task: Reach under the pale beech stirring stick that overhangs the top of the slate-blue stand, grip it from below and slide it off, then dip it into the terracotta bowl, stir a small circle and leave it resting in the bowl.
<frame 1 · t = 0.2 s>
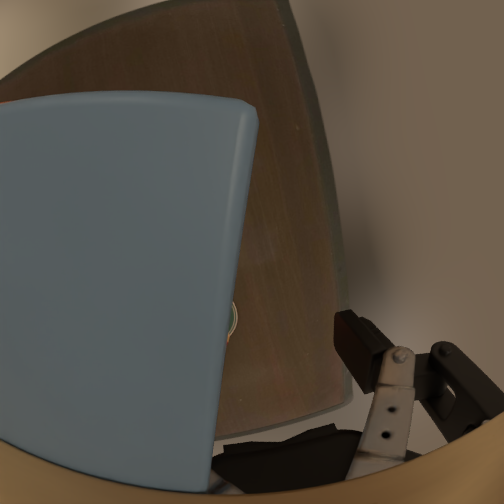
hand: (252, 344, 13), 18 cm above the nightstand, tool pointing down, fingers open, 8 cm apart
stand: (151, 196, 27), on the nightstand
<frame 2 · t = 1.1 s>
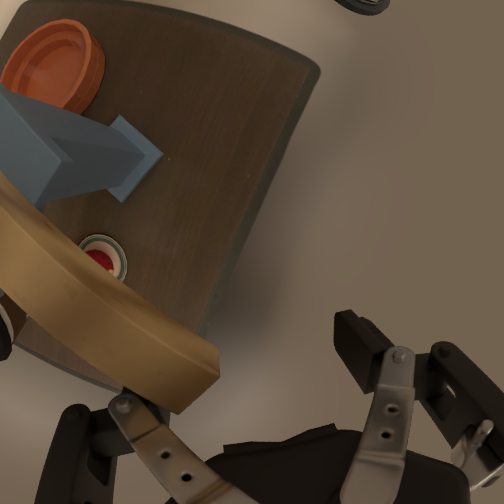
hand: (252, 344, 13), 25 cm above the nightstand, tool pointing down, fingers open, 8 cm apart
stand: (122, 158, 32), on the nightstand
coffee cup: (19, 297, 35), on the nightstand
bowl: (58, 81, 27), on the nightstand
stick: (6, 217, 7), point 28 cm above the nightstand, touching stand
apple: (102, 261, 36), on the nightstand
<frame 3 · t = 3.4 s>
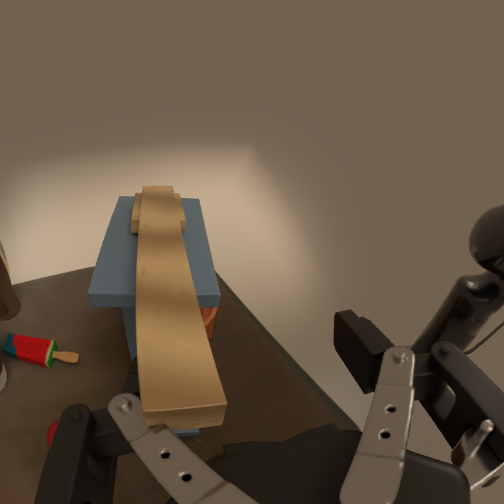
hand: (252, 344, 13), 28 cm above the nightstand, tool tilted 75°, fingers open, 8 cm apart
stand: (166, 411, 33), on the nightstand
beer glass: (8, 309, 38), on the nightstand
bowl: (169, 322, 47), on the nightstand
stick: (160, 268, 15), point 28 cm above the nightstand, touching stand
popsicle: (41, 355, 34), on the nightstand
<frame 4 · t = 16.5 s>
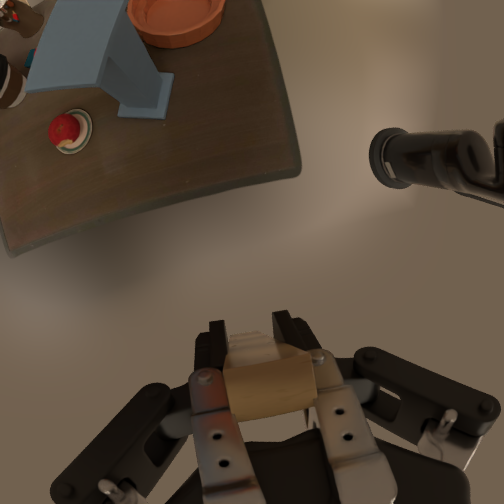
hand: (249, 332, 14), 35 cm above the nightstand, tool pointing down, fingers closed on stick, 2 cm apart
stand: (146, 96, 39), on the nightstand
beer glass: (33, 26, 29), on the nightstand
coffee cup: (17, 92, 33), on the nightstand
bowl: (178, 14, 35), on the nightstand
stick: (253, 366, 15), point 34 cm above the nightstand, tilted 120°, touching gripper
popsicle: (57, 57, 33), on the nightstand
apple: (74, 131, 39), on the nightstand
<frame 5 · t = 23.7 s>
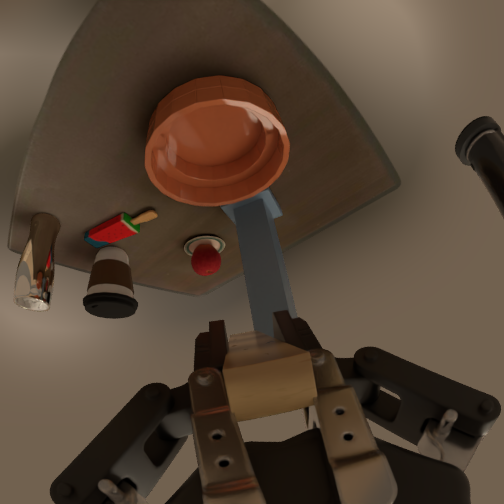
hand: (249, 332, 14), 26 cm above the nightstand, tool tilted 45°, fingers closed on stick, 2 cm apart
stand: (251, 204, 47), on the nightstand
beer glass: (46, 222, 40), on the nightstand
coffee cup: (112, 253, 53), on the nightstand
bowl: (213, 129, 32), on the nightstand
stick: (253, 365, 15), point 27 cm above the nightstand, tilted 165°, touching gripper
popsicle: (120, 223, 45), on the nightstand
apple: (204, 244, 56), on the nightstand
when the fingers open (9 cm above the nightstand, at t = 30.8 s): stick drops 4 cm and tips over, resting on bowl.
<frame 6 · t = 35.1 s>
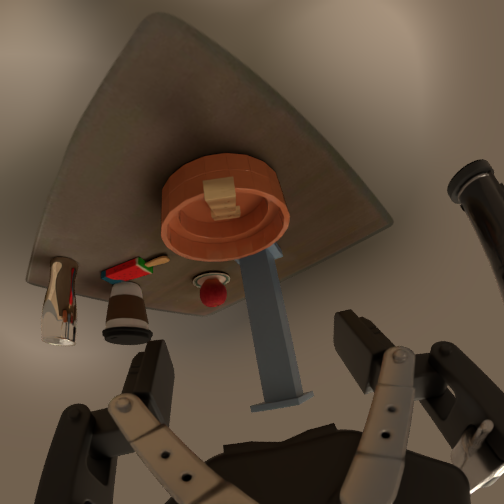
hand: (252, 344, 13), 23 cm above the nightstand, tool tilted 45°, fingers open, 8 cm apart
stand: (254, 248, 52), on the nightstand
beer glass: (64, 263, 45), on the nightstand
coffee cup: (126, 286, 58), on the nightstand
bowl: (220, 194, 38), on the nightstand
stick: (224, 211, 30), point 6 cm above the nightstand, tilted 150°, touching bowl
popsicle: (134, 264, 50), on the nightstand
apple: (211, 277, 61), on the nightstand
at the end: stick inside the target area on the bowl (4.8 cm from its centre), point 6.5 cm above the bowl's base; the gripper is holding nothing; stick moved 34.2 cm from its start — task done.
